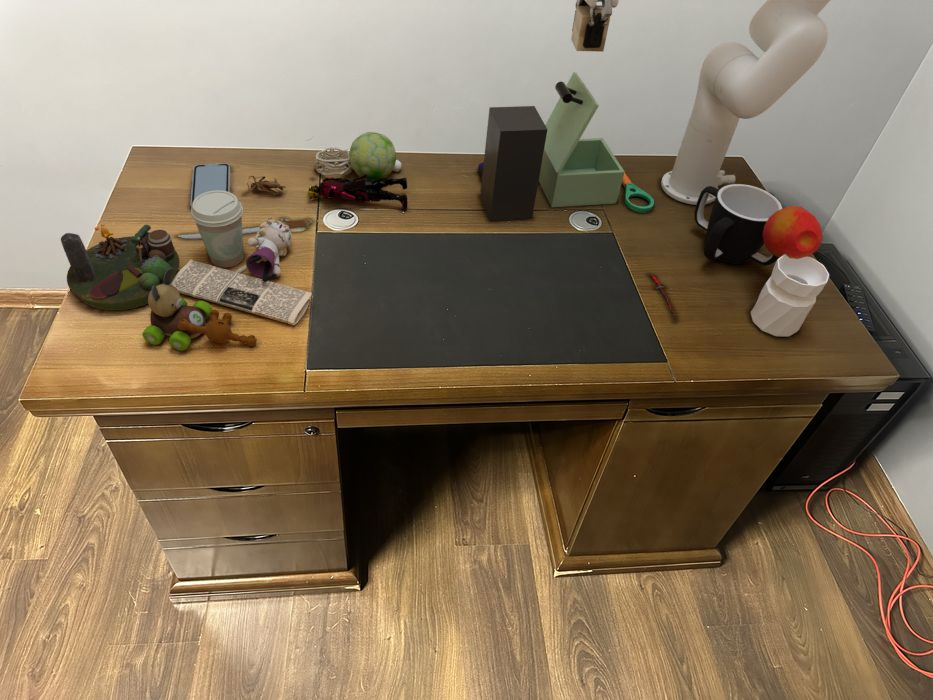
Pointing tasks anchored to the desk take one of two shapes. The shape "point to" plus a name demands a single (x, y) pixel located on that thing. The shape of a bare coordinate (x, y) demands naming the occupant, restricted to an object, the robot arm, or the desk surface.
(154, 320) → the toy car
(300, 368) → the desk surface
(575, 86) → the lid
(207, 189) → the smartphone
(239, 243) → the coffee cup
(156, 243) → the toy scene
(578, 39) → the block
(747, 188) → the mug
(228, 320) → the toy figurine
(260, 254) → the toy
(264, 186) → the insect
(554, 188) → the storage box
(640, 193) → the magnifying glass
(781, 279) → the vase
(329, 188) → the action figure
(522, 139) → the block
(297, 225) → the sword
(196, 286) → the newspaper
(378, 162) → the decorative ball
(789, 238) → the apple
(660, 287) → the katana
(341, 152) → the bracelet
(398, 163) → the spheres
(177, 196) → the desk surface
